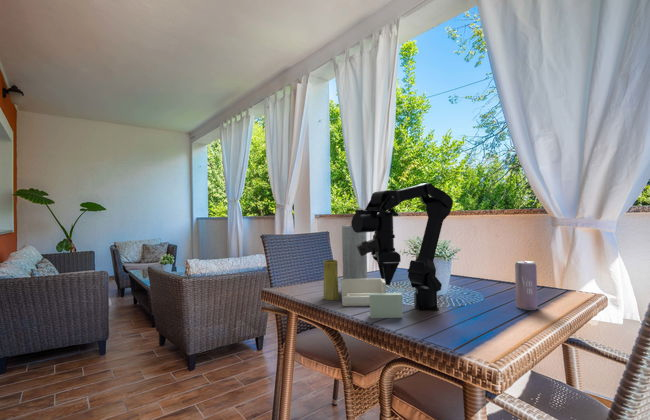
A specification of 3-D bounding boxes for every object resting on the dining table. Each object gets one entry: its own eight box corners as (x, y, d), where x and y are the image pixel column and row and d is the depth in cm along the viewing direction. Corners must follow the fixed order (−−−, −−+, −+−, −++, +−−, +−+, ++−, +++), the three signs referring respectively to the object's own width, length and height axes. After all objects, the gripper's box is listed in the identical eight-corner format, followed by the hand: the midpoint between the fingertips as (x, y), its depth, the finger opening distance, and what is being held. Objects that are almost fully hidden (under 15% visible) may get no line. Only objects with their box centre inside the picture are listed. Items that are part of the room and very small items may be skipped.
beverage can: (536, 306, 107) (534, 261, 108) (539, 311, 102) (537, 263, 102) (515, 304, 110) (513, 260, 110) (517, 309, 104) (515, 262, 105)
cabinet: (382, 296, 125) (382, 278, 125) (388, 305, 112) (388, 285, 112) (341, 296, 126) (341, 278, 126) (342, 305, 113) (342, 286, 113)
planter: (338, 292, 133) (337, 226, 133) (351, 287, 141) (349, 225, 142) (360, 295, 127) (358, 226, 128) (371, 290, 135) (370, 225, 136)
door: (400, 315, 101) (400, 292, 101) (402, 317, 99) (402, 294, 99) (369, 315, 101) (369, 293, 101) (370, 318, 99) (370, 295, 99)
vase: (337, 300, 120) (337, 261, 120) (321, 300, 121) (320, 261, 121) (340, 296, 126) (339, 259, 126) (324, 296, 127) (324, 259, 127)
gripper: (355, 230, 110) (357, 276, 110) (360, 233, 91) (361, 289, 91) (388, 229, 110) (390, 275, 109) (400, 232, 91) (401, 288, 91)
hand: (385, 281), depth 100 cm, fingers open, 9 cm apart
